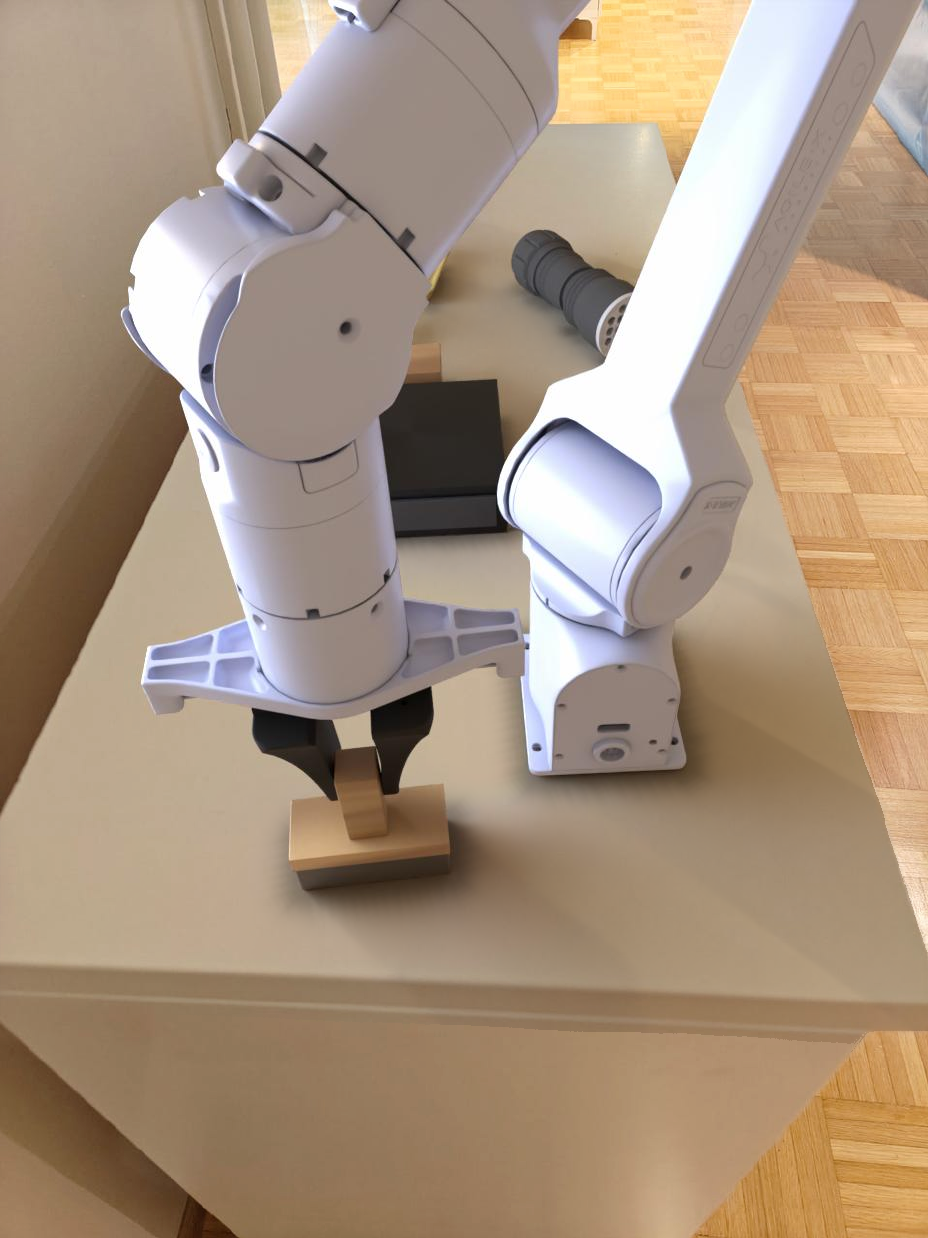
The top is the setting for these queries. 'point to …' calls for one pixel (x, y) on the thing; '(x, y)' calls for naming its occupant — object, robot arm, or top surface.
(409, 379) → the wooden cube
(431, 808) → the brush
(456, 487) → the box
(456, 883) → the top surface
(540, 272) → the flashlight
